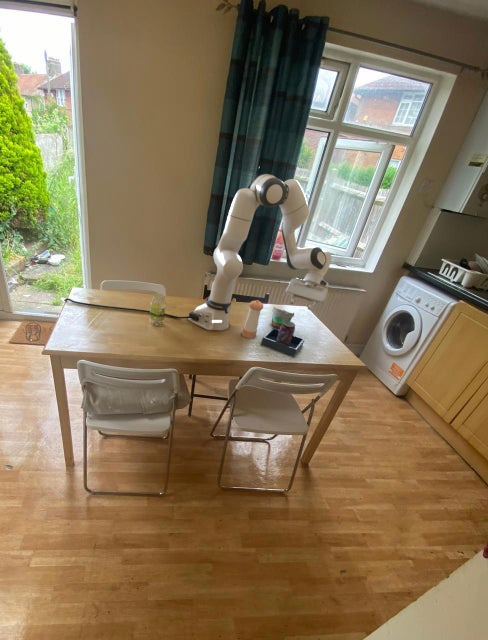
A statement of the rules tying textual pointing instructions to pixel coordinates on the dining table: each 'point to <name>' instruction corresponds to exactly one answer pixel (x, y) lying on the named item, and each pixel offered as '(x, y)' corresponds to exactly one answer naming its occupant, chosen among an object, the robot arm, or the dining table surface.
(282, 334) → the beverage can
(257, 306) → the pepper shaker
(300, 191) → the robot arm
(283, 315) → the food container
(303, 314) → the dining table surface
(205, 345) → the dining table surface
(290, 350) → the tray
